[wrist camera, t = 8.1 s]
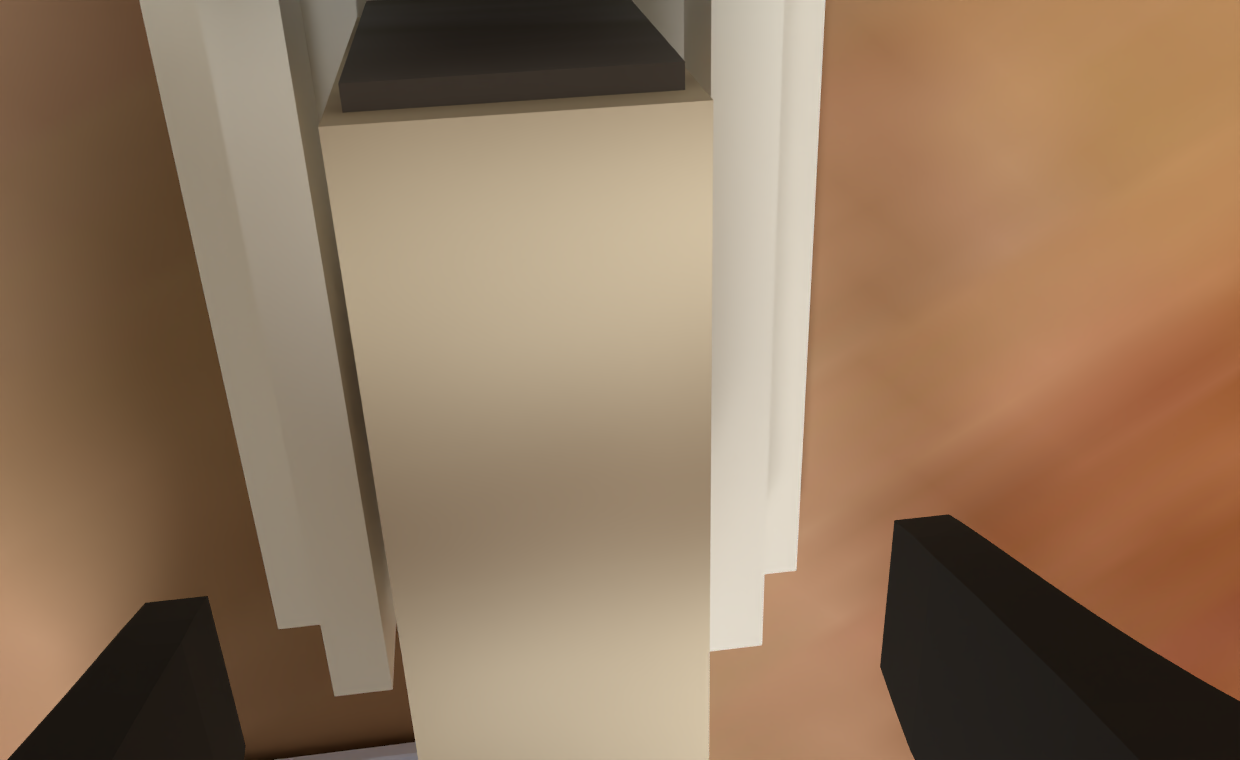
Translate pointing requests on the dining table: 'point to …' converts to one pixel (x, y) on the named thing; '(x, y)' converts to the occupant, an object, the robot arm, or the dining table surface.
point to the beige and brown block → (534, 367)
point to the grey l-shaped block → (318, 319)
